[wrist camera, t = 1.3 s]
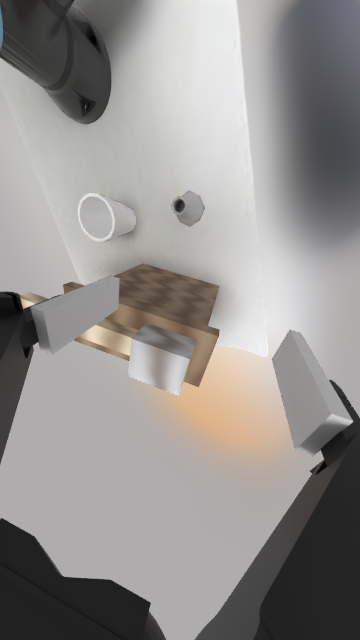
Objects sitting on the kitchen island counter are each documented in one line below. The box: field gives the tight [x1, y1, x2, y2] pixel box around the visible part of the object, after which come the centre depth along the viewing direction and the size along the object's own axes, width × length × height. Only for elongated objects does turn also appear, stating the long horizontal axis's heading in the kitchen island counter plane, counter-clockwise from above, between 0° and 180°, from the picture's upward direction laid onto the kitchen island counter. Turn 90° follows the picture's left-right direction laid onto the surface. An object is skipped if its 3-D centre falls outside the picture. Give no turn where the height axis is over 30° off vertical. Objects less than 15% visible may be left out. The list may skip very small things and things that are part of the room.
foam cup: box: [78, 193, 137, 242], centre depth 46 cm, size 10×9×13 cm
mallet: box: [20, 293, 197, 395], centre depth 32 cm, size 33×8×5 cm, turn 77°
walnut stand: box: [63, 264, 220, 387], centre depth 45 cm, size 28×12×28 cm, turn 77°
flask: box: [171, 191, 205, 226], centre depth 42 cm, size 7×7×10 cm
